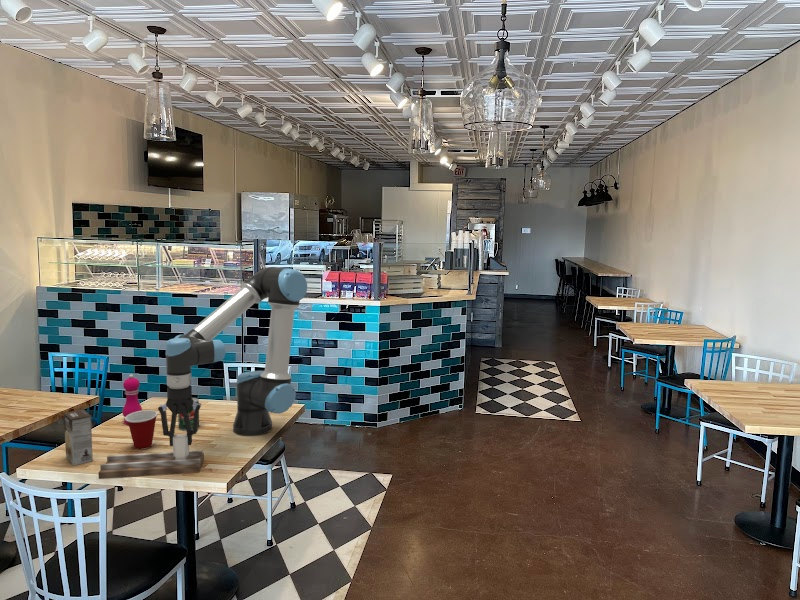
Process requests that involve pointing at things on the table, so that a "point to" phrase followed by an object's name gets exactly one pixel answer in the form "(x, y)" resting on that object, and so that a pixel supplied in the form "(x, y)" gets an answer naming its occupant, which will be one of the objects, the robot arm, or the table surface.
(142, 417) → the plastic cup
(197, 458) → the fader track
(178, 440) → the fader tab
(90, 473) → the table surface
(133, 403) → the pepper mill
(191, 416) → the canned tomato
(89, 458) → the coffee box
